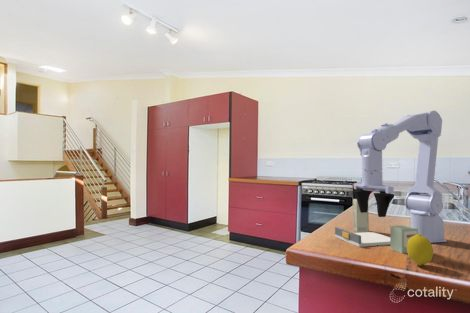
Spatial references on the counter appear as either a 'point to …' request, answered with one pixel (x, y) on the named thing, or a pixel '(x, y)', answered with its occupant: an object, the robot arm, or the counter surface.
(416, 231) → the carton
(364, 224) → the skincare box
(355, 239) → the shelf board
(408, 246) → the lemon
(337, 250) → the counter surface
